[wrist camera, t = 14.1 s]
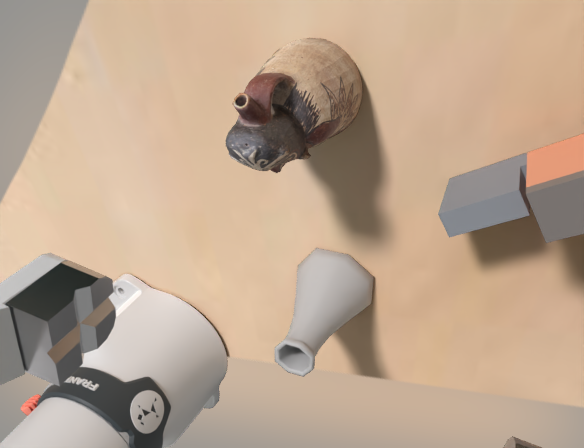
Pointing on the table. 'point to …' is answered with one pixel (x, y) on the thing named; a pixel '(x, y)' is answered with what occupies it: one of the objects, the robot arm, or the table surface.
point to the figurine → (294, 104)
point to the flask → (322, 306)
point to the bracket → (486, 197)
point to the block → (557, 188)
